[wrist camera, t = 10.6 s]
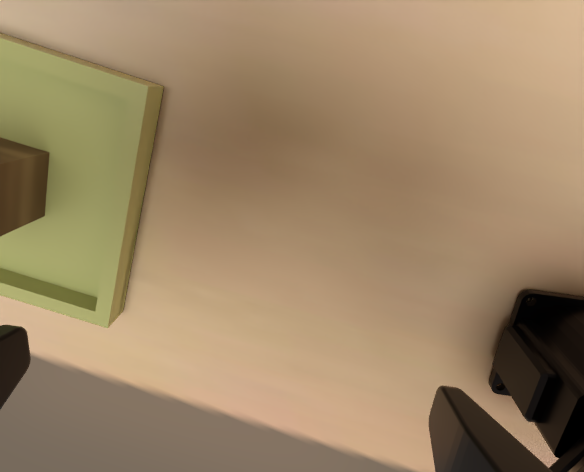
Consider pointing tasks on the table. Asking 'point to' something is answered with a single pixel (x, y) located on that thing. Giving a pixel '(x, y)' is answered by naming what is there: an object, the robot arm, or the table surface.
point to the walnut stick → (21, 184)
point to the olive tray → (76, 178)
